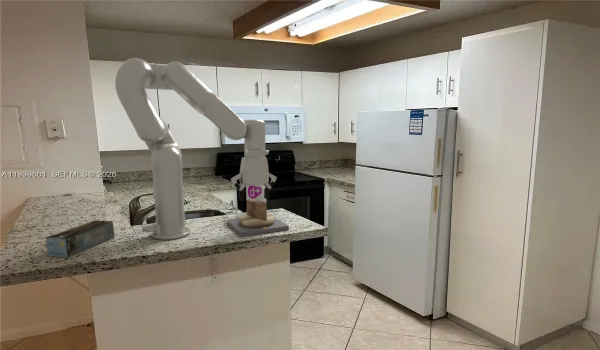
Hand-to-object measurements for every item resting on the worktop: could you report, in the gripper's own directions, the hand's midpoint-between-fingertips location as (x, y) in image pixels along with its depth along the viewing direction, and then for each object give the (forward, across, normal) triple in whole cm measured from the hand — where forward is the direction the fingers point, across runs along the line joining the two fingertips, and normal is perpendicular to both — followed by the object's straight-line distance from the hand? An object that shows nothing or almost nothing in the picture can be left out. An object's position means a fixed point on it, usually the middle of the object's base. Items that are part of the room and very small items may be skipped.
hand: (254, 199), depth 133 cm
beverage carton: (+13, +56, -5) cm, 57 cm away
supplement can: (+10, -7, -17) cm, 21 cm away
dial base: (+10, -1, 0) cm, 10 cm away
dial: (+9, -1, 0) cm, 9 cm away
